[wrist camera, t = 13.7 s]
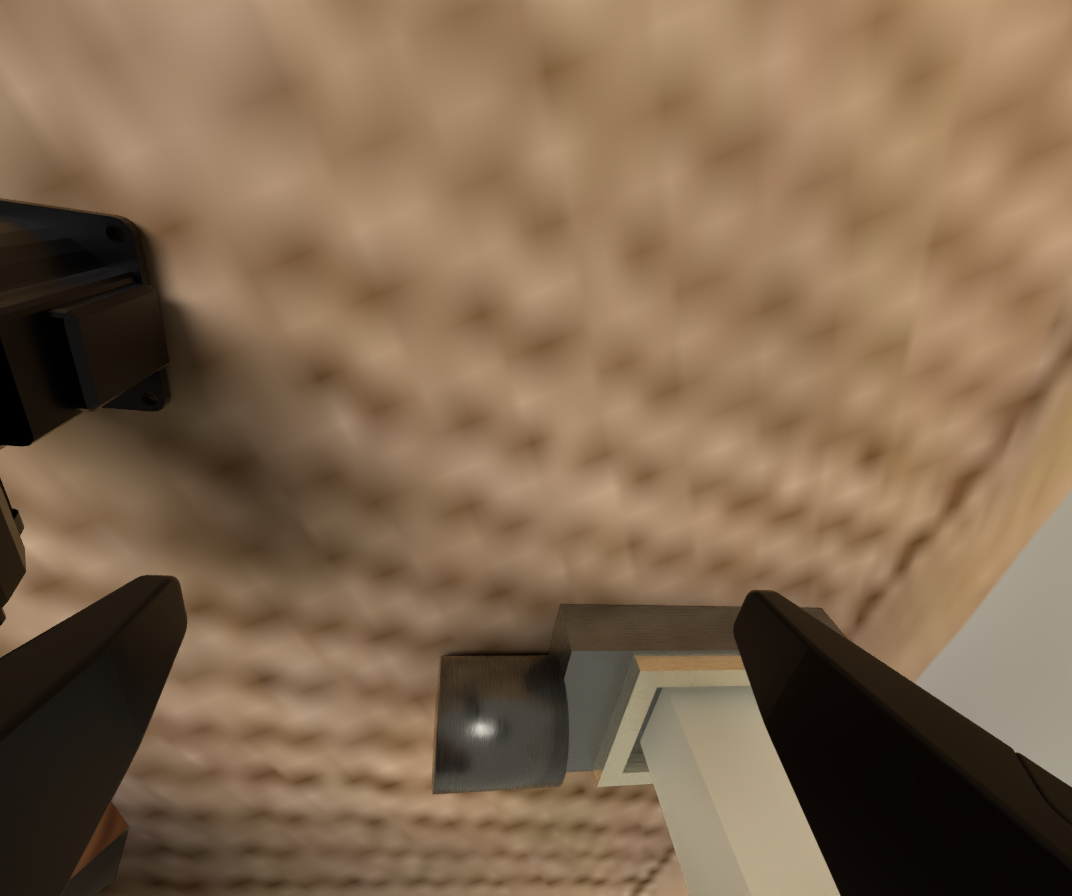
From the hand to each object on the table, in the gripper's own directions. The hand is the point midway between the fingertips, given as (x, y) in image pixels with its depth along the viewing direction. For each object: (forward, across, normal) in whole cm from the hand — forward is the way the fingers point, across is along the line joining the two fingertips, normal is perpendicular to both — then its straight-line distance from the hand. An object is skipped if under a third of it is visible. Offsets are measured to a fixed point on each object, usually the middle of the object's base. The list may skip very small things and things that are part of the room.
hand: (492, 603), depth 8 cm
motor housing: (+13, -11, +18) cm, 25 cm away
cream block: (+10, -14, +18) cm, 25 cm away
